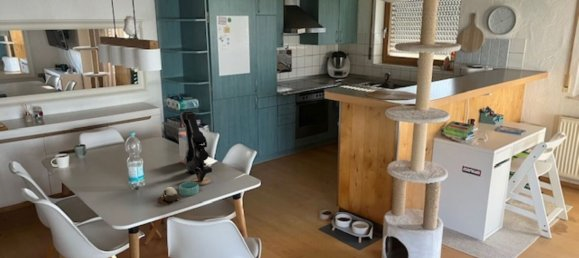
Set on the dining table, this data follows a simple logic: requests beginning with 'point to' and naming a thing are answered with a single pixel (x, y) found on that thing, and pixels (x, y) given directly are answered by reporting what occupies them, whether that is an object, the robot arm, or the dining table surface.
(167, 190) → the skull
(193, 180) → the lid
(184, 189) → the bowl
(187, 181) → the mat
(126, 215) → the dining table surface
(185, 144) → the cracker box
